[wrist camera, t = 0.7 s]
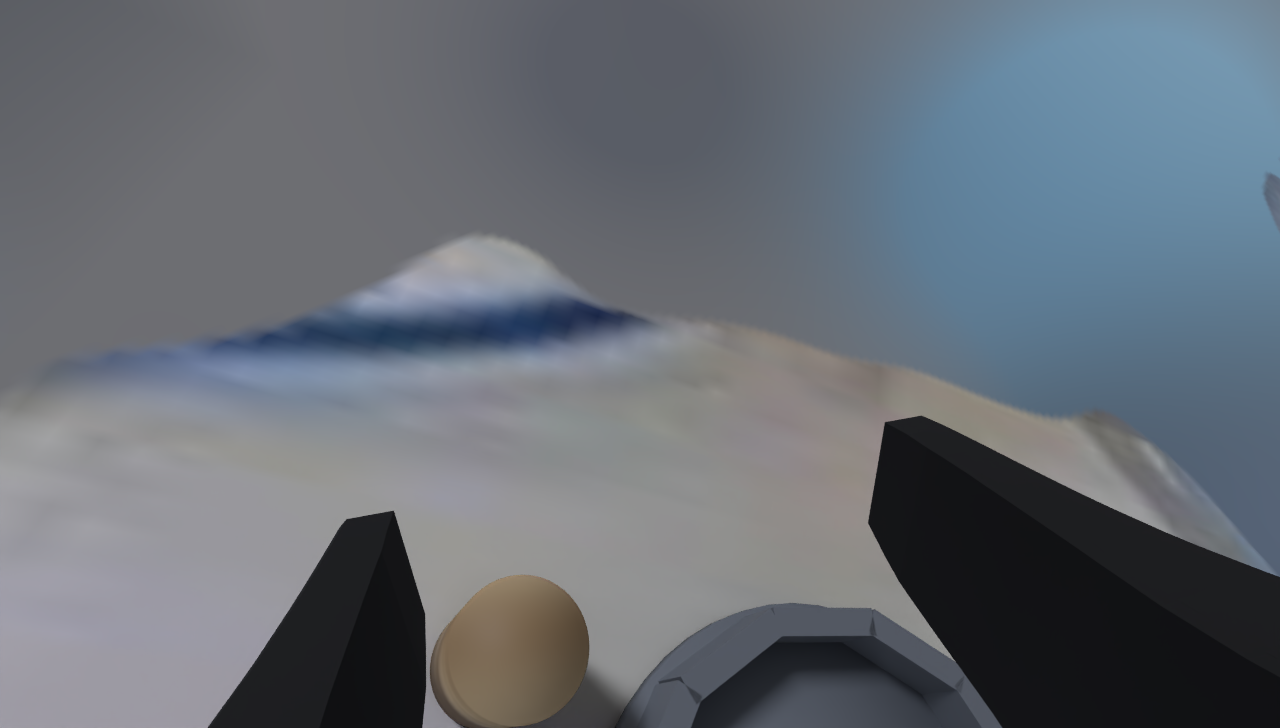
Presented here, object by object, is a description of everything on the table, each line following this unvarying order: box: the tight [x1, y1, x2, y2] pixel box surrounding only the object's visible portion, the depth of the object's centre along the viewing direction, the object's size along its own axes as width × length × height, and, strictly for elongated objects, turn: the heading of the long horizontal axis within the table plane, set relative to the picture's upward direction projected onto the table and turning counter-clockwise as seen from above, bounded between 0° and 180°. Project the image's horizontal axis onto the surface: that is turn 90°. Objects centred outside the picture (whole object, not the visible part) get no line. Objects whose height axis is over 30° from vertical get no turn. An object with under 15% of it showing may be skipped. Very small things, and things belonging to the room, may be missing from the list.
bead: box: [430, 575, 589, 728], centre depth 22 cm, size 4×4×5 cm
